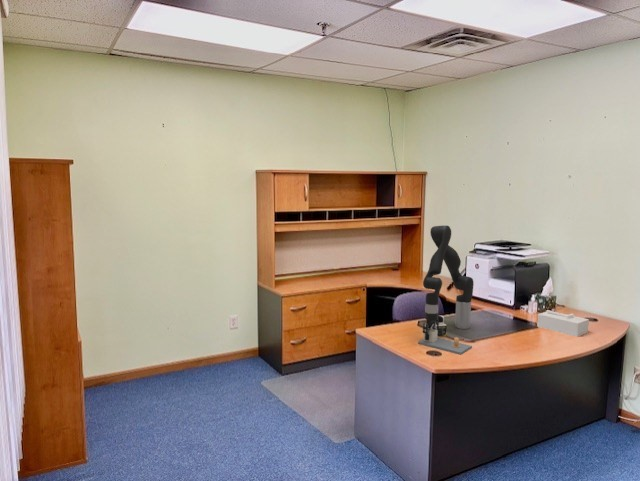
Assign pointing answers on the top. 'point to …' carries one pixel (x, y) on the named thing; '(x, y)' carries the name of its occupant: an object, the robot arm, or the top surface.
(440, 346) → the board
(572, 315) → the tissue box
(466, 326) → the robot arm
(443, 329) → the medicine bottle
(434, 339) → the beige cube block
